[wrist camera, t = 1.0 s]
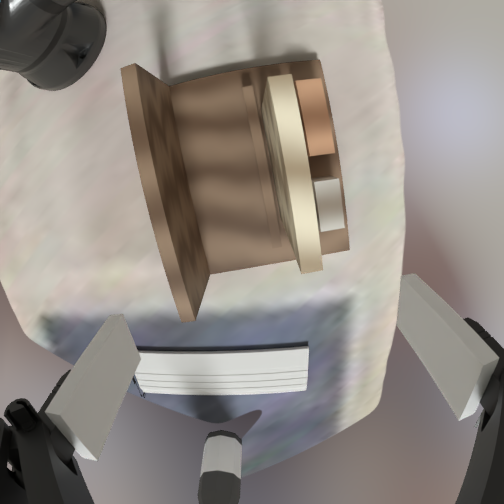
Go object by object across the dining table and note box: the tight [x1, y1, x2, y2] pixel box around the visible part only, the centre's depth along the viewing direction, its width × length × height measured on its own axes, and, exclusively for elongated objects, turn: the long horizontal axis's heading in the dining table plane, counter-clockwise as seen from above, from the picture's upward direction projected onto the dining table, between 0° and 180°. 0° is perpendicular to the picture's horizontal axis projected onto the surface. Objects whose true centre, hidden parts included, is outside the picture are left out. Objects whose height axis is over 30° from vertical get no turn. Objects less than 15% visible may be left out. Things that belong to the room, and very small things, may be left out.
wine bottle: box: [198, 430, 242, 504], centre depth 42 cm, size 8×8×30 cm
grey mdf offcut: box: [311, 175, 345, 232], centre depth 36 cm, size 6×3×4 cm, turn 11°
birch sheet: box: [261, 74, 323, 274], centre depth 28 cm, size 14×2×18 cm, turn 11°
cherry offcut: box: [294, 78, 335, 156], centre depth 33 cm, size 9×3×4 cm, turn 11°
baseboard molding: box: [133, 346, 309, 398], centre depth 49 cm, size 31×3×12 cm
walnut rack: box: [121, 60, 350, 322], centre depth 32 cm, size 26×21×14 cm
